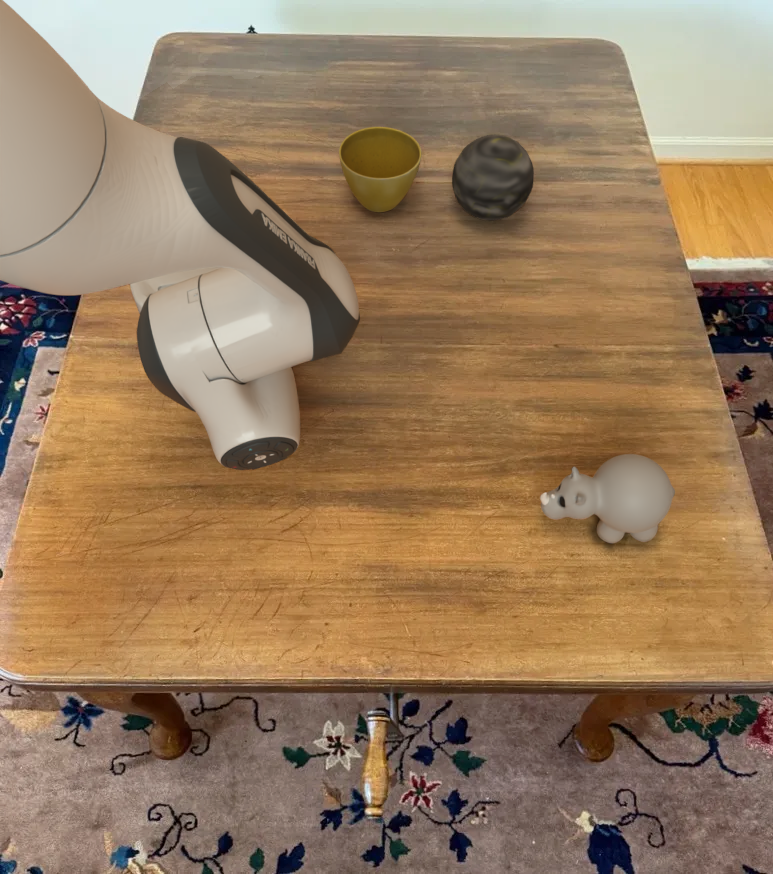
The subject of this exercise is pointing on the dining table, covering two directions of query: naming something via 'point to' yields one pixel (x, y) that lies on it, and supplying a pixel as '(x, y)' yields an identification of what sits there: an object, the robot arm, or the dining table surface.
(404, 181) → the flower pot
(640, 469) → the chubby cartoon animal
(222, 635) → the dining table surface
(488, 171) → the decorative stone
